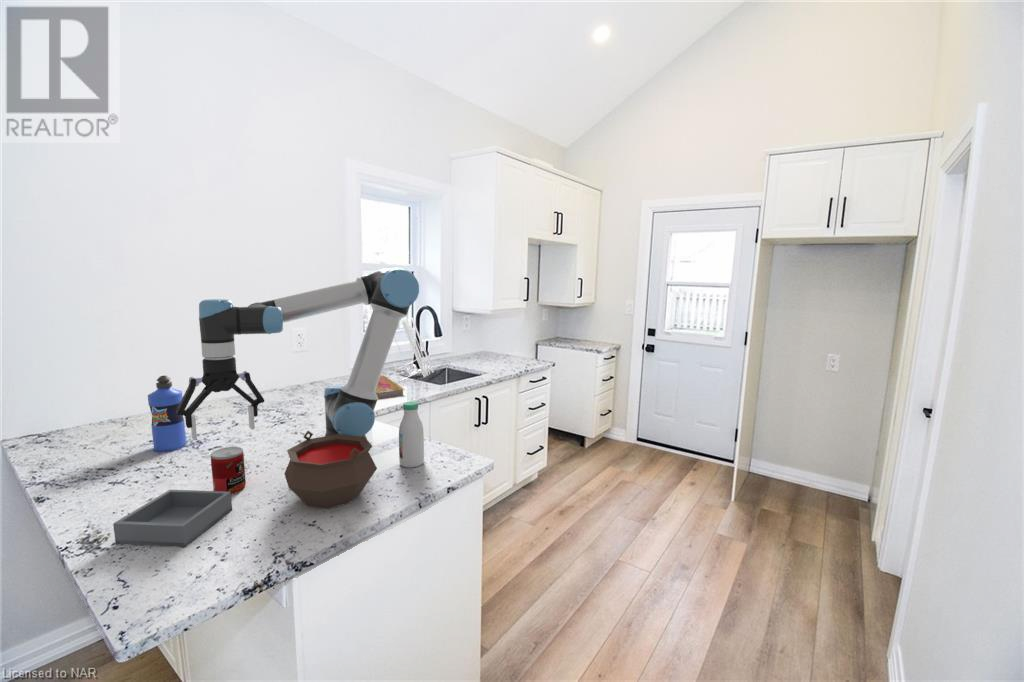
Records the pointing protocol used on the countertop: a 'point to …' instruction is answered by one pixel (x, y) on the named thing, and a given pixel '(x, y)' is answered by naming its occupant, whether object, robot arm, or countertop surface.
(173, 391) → the water bottle
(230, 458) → the canned food
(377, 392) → the orange triangular wedge
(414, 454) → the milk bottle
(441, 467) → the countertop surface
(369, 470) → the brown cooking pot
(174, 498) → the bin
